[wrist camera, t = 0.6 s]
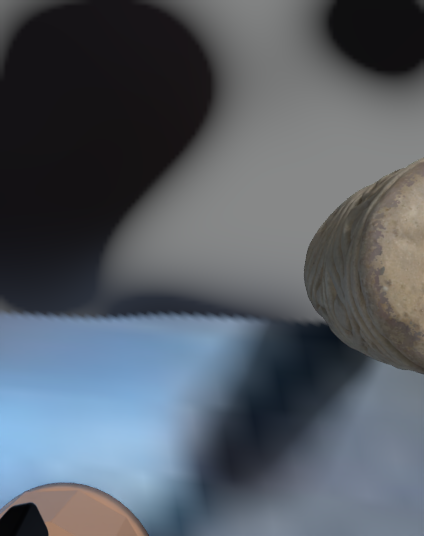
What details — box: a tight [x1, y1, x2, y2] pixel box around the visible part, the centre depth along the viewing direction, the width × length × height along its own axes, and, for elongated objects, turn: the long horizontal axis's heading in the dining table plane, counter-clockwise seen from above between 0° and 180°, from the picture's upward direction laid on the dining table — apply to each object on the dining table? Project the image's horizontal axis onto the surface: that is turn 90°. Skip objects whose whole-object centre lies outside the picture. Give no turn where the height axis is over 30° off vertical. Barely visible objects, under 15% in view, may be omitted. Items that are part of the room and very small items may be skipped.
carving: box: [304, 158, 424, 374], centre depth 16 cm, size 6×8×12 cm
